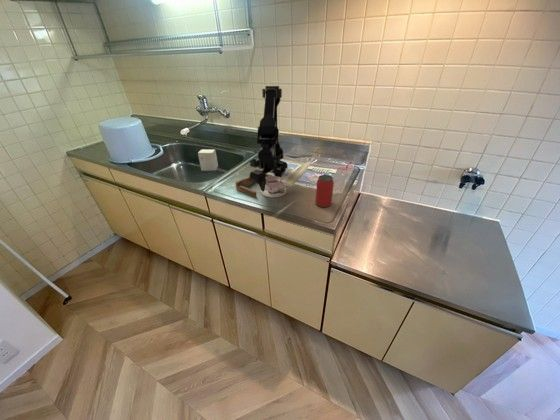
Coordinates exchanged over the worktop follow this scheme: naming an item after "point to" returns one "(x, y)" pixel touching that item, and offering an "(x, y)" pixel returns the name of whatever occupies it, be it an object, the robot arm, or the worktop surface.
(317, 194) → the beer can
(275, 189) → the teacup
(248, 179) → the open wooden frame
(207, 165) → the small box
